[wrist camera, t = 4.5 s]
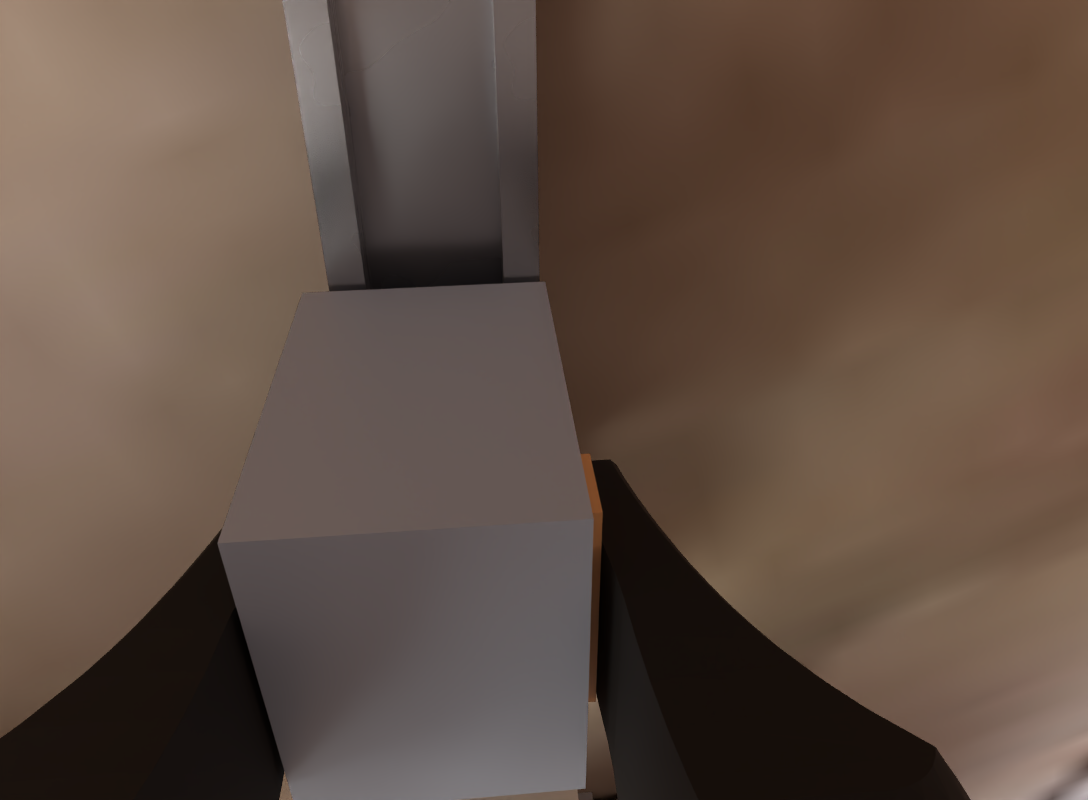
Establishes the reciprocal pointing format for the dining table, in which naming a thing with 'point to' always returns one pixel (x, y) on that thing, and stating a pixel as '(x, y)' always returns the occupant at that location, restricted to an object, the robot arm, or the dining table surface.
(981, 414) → the dining table surface
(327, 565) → the block
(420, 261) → the rail
